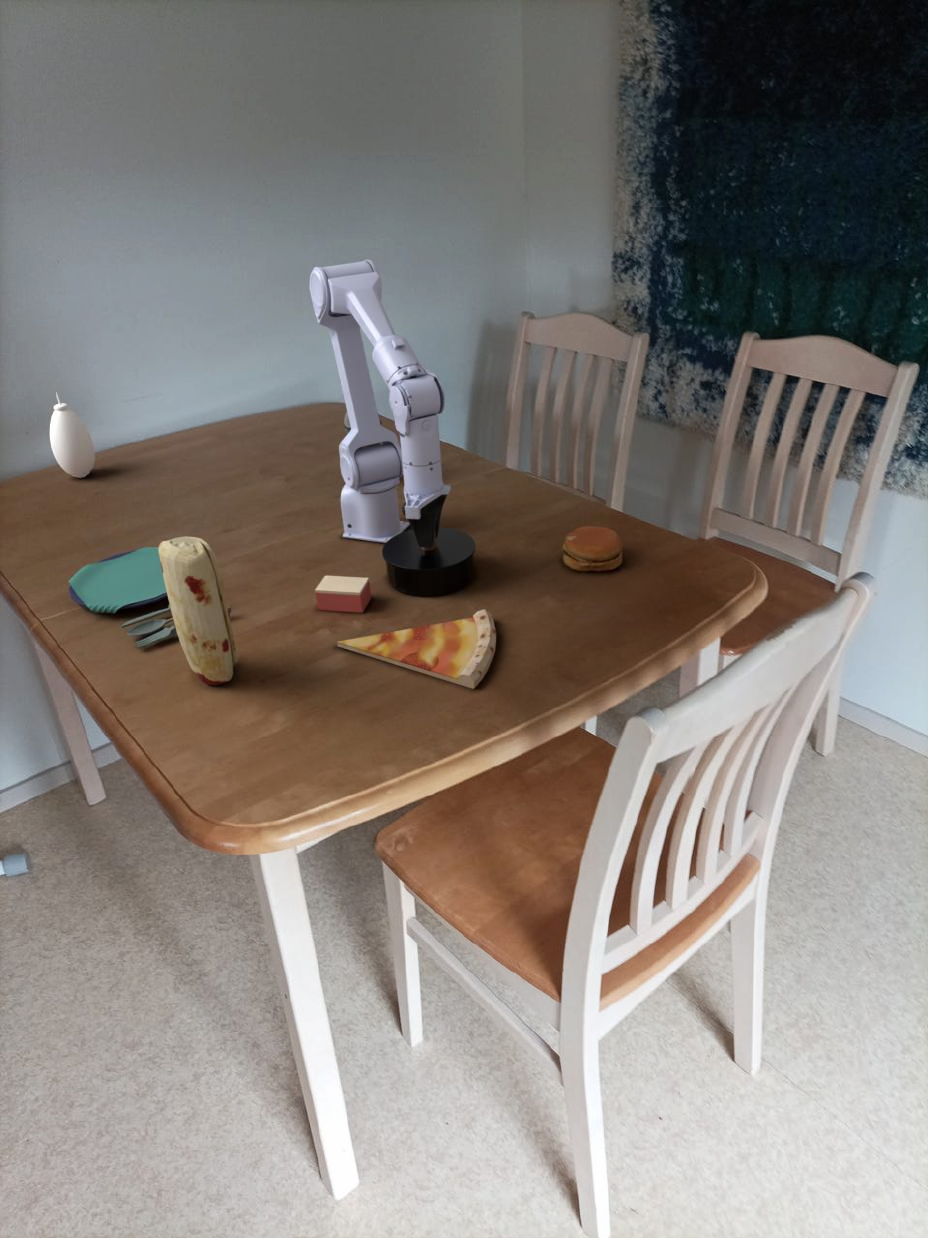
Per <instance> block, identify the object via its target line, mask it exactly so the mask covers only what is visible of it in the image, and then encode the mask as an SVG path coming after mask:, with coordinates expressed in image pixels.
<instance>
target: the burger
mask: <svg viewBox="0 0 928 1238" xmlns="http://www.w3.org/2000/svg"><path fill="white" fill-rule="evenodd" d="M623 547H624V546H623V542H622V540H621V537H620V535H619V534H618V533H617V532H616V531H615V530H613V529H610V528H608V527H603V526H594V525H593V526H592V525H591V526H590V525H588V526H587V525H586V526H580V527H578V528H576V529H574V530H573V531H571V532H569V533H567V534H566V535H565V538H564V542H563V545H562V550H561V552H562V554H563V557H562V558H563V559H562V560H563V563H564V565H566V566H567V567H568V568H570V569H572V570H574V571H577V572H590V571H593V572H594V571H595V572H604V571H612V570H615V569H616V568H618V567H619V566H620V565H621V564H622V562H623V552H622V551H623Z"/></svg>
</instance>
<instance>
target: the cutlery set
mask: <svg viewBox="0 0 928 1238" xmlns="http://www.w3.org/2000/svg"><path fill="white" fill-rule="evenodd" d="M158 548H159V546H156V547H155V546H151V547H149V546H145V547H142V548H139V549H136V550H130V551H126V552H122V553H118V554H114V555H111V556H109V557H107V558H104V559H101V560H99V561H97V562H93V563H90V564H86V565H84V566H83V567H82V568H80V569H79V571H77V572H76V573H75V574H74V575H73V576H72V577H71V578H69V580H68V581H67V582H68V583H69V587H68V592H69V595H70V598H71V600H73V601H74V602H75V603H77V604H78V605H79V606H82V607H86V608H88V610H90V611H91V612H93V613H99V614H100V613H102V614H104V613H108V614H115V613H116V612H117V611H118V610H126V609H132V608H133V609H134V608H138V607H142V606H146V605H149V604H153V603H156V602H159V601H161V600H164V599H166V598H168V595H167V591H166V587H165V582H164V577H163V572H162V568H161V563H160V557H159V551H158ZM228 608H229V613H230V614H231V613H232V608H231V606H229V605H228ZM169 612H170V613H171V614H172V611H171V607H170V604H168V605H167V608H164V609H159V610H157V611H152V612H150V613H147V614H144V615H142V616H139V617H136V618H133V619H130V620H128V621H126V622H124V623H122V624H121V626H120V627H121V629H125V628H127V627H129V626H132V625H135V624H136V625H135V626H132V627H131V628H130V629H129V630H127V632H126V634H127V636H129V637H144V636H148V635H150V636H148V637H145V638H144V639H141V640H138V641H135V642H134V644H135V647H137V648H143V647H147V646H149V645H151V644H154V643H157V642H161V641H166V640H168V639H170V638H173V637H174V636H175V635H178V634H177V631H176V627H175V625H171V626H170V627H164V626H165V625H167V624H169V623H171V622H174V620H173V616H172V617H170V618H169V619H164V618H163V619H162V618H161V619H160V618H159V619H154V618H156V617H158V616H160V615H164V614H167V613H169ZM152 618H153V619H152ZM149 619H151V620H149ZM147 620H148V621H147ZM141 622H142V623H141ZM138 623H139V624H138ZM163 627H164V628H163ZM162 628H163V629H162ZM161 629H162V630H161Z"/></svg>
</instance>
